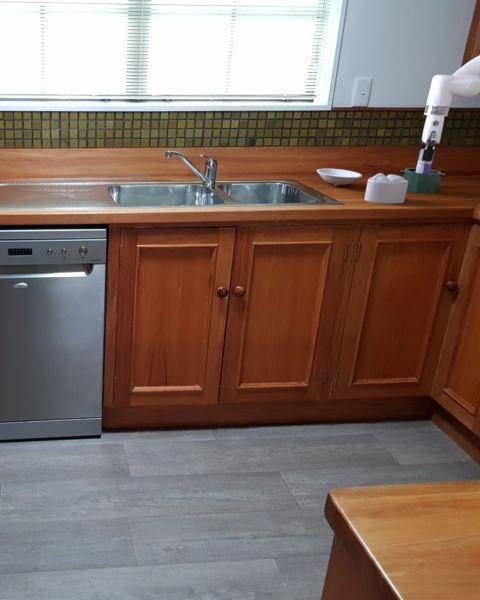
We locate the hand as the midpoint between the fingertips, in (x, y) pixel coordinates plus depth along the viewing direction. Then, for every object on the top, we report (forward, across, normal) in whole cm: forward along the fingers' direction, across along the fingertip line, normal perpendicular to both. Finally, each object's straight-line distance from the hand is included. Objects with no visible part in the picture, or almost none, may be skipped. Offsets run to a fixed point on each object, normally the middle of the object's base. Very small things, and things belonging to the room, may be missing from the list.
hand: (424, 158), depth 226 cm
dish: (+12, -5, +28) cm, 31 cm away
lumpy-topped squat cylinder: (+12, -24, +14) cm, 30 cm away
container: (+12, 0, 0) cm, 12 cm away
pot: (+12, 0, 0) cm, 12 cm away
